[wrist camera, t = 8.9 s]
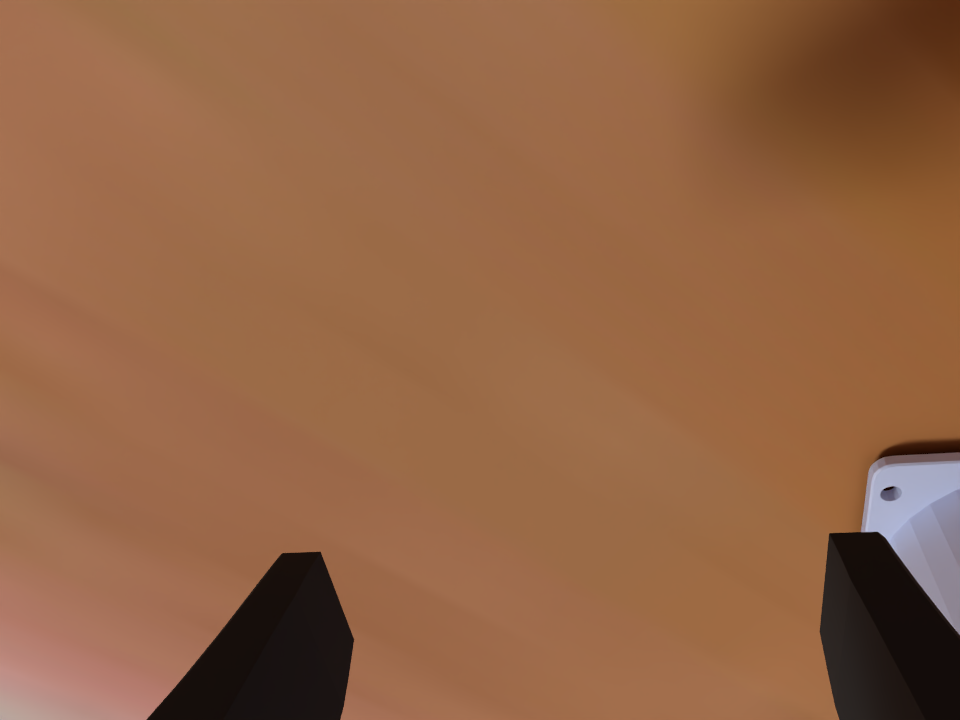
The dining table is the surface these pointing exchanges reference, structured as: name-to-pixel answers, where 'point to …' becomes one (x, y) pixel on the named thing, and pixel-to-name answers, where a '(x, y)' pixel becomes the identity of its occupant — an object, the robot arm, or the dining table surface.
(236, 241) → the dining table surface
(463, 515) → the dining table surface
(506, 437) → the dining table surface
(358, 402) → the dining table surface
